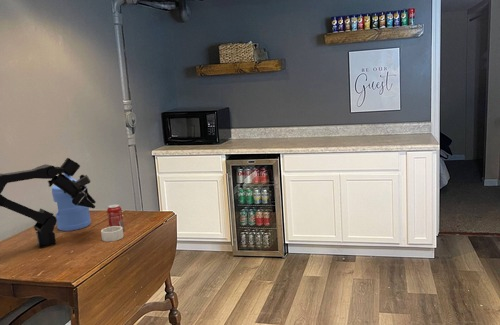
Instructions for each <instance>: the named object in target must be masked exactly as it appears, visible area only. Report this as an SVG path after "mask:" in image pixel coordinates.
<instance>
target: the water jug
mask: <svg viewBox="0 0 500 325" xmlns="http://www.w3.org/2000/svg"><path fill="white" fill-rule="evenodd" d="M62 174H63V173H62ZM63 175H64V176H66V175H65V174H63ZM66 177H67V178H69V179H70V180H71V181H72V180H74V181H77V180H78V179H75V178H73V177H72V176H69V177H68V176H66ZM85 186H87V184H86V185H85ZM86 188H87V187H86ZM86 188H85V189H86ZM85 189H84V190H85ZM51 195H52V200H53V202H54V203H56V205H57V213H56V214H55V217H56V219H57V222H56V229H58V230H59V231H64V232H71V231H78V230H81V229H84V228H87V227H89V226H90V225H91V223H92V221H91V220H92V219H91V215H90V208H89V207H84V206H79V205H74V204H73V203H72V198H71V196H70V195H68V194H67V193H64V191H63V190H61V189H60V188H58V187H57V186H56V185H54V184H53V185H52V186H51Z"/></svg>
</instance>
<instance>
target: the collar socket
mask: <svg viewBox="0 0 500 325" xmlns="http://www.w3.org/2000/svg"><path fill="white" fill-rule="evenodd" d="M100 234H101V235H100V236H101V241H103V242H106V243H107V242H108V243H109V242H116V241H119V240H121V239H123V238H124V228H122V227H121V226H112V227H109V226H108V227H105V228H102V229H101V230H100Z"/></svg>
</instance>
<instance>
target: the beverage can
mask: <svg viewBox="0 0 500 325" xmlns="http://www.w3.org/2000/svg"><path fill="white" fill-rule="evenodd" d="M122 211H123V210H122V206H120V204H110V205H108V206H107V210H106V212H107V221H108V227H112V226H121V227H122V228H123V229H124V228H125V227H124V220H123V212H122Z"/></svg>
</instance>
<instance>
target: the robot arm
mask: <svg viewBox="0 0 500 325" xmlns="http://www.w3.org/2000/svg"><path fill="white" fill-rule="evenodd" d="M80 167H81V165H80V164H79V163H78V162H76V161H74V160H72V159H71V158H69V157H67V158H65V160H64V162H63V163H62V164H61V165H60V166H55V165H52V164H51V165H50V164H47V163H46V164H42V165H40V166H37V167H35V168H32V169H27V170H26V169H25V170H20V171H14V172H6V173H0V208H2V207H3V208H6V209H7V210H10V211H12V212H14V213H17V214H19V215H22V216H25V217H28V218H30V219H31V220H33V221H34V222H36V223H35V224H34V225H33V228H34V230H35V233H36V240H37V243H36V244H37V246H38V247H39V248H40V249H41V248H47V247H50V246H54V245H56V234H55V232H54V230H55V226H57V219H56V215H54V213H53V212H50V211H48V210H46V209H45V210H44V208H43V209H42V208H39V210H35V209H32V208H30V207H27V206H25V205H23V204H20V203H18V202H15V201H13V200H11V199H8V198H7V197H5V196H4V195H2V192H3V190H4V189H5V187H6V186H7V184H10V183H16V182H22V181H27V180H28V181H29V180H32V179H33V180H36V179H42V180H45V179H47V183H48V187H49V188H50V187H51V188H52V187H53V186H54V185H56V186H57V187H58V188H60V189H61V190H63V191H64V193H67V194H68V195H70V196H71V198H72V203H73V204H74V205H79V206H84V207H89V209H95V208H96V205H95V204H96V203H97V201H96V199H94V198H93V197H92V196H91V195H90V194H89V188H88V187H87V185H89V184H90V183H91V179H90V178H89V176H88V174H85V175H84V174H80V175H79V179H76V180H77V181H74V180H72V181H71V180H70V179H69V178H67V177H66V176H68V177H69V176H71V177H74V175H75V174H76V172H77V171H78V170H79V169H80ZM63 174H65V175H66V176H64V175H63ZM49 179H50V180H49ZM85 185H86V186H85ZM85 188H86V189H85ZM84 189H85V190H84Z"/></svg>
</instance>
